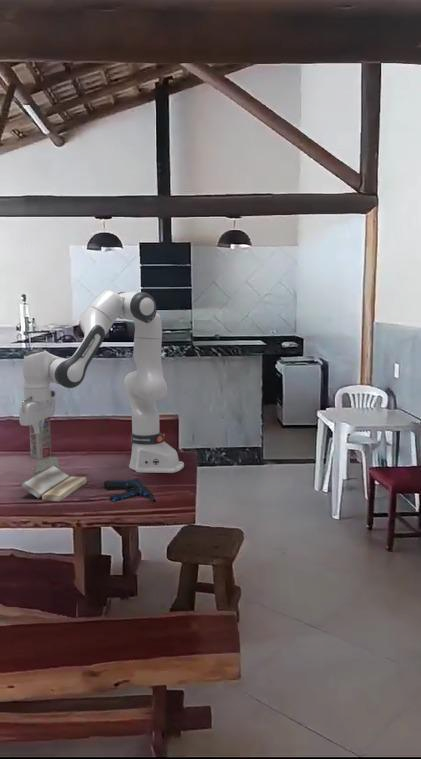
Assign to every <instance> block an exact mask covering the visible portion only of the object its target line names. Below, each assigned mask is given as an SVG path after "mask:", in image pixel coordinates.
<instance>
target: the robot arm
mask: <svg viewBox="0 0 421 759" xmlns="http://www.w3.org/2000/svg"><path fill="white" fill-rule="evenodd" d="M117 319H123V320H129V321H133V324H134V337H133V355H132V356H133V360H134V362H135V366H136V370H134V371H131V372H129V373H128V374H126V376H125V378H124V381H123V386H124V388H125V391H126V393H127V397H128V401H129V402H128V404H129V407H130V411H131V412H130V413H131V429H132V432H131V435H130V442H131V456H130V461H129V464H128V467H129V469H131V470H134V471H135V472H136V473H147V474H148V473H152V474H155V473H162V474H163V473H164V474H165V473H166V474H174V473H177V472H180V471H181V470H182V469H184V468H185V463H184V462H183V461H181V460H180V459H179V455H178V452H177V450H176V449H175V448H173V446H171V445H169V444H168V443H167V442H165V437H166V436H165V435H166V433H161V431H160V412H159V410H158V408H157V405H156V402H159V401H161V400H162V399H164V398H165V397H166V395H167V393H168V384H167V382H166V380H165V377H164V376H165V375H164V371H163V365H162V364H163V363H162V344H163V342H162V339H163V327H162V326H163V324H162V323H163V322H162V317H161V314H160V313H159V312H157V305H156V300H155V299H154V297H153V296H152V295H151V294H149V293H147V292H143V291H134V290H132V291H122V292H121V291H120V292H116V291H114V290H110V289H107V290H104V291H103V292H102V293H100V294H99V295H98V296H97V297H95V299H94V300H93V301H92V302H91V303H90V304H89V306H88V307H87V308H86V309H85V311H84V312H83V314H82V316H81V317H80V320H79V326H80V329H81V331H82V332H83V335H84V337H83V339H82V341H81V343H80V344H79V346H78V347H77V349H76V351H75V352H74V353H73V355H72V356H70V357H68V358H65V357H61V356H57V355H54V354H52V353H50V352H48V351H47V350H46V349H44V348H43V349H42V348H38V349H31V350H28V351H27V352H26V353H25V354H24V355H23V362H22V366H23V367H22V374H23V379H24V384H23V401H22V403H21V404H20V407H19V416H18V417H19V419H18V420H19V424H20V426H25V427H26V426H27V427H30V425H32V426H33V428H34V433H35V434H38V433H41V432H42V431H43V429H42V427H43V424H44V419H46V418H48V417H50V418H51V417H53V416H55V413H56V398H55V397H56V396H57V395H56V393H57V392H56V391H55V390H54V389H51V388H50V384H51V383H54V384H56V385H59V386H60V385H61V386H62V387H64V388H66V389H74V388H76V387H78V386H79V385H81V384H82V383H83V381H84V379H85V377H86V373H87V369H88V367H89V366H90V363H91V361H92V360H93V359H94V357H95V355H96V353H97V352H98V350H99V349H100V347H101V345H102V344H103V341H104V339H105V337H106V334H107V333H108V331H110V329H111V327H112V326H113V324H114V323H115V322H116V321H117Z"/></svg>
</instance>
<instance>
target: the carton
mask: <svg viewBox="0 0 421 759" xmlns="http://www.w3.org/2000/svg"><path fill="white" fill-rule="evenodd" d="M42 429H43V431H42V432H41V433H38V434H35V433H34V428H33V426H32V425H29V440H30V442H29V445H30V457H32V458H34V459H35V460H42V459H47V458H49V457H53V456H52V435H51V434H52V433H51V432H52V431H51V430H52V429H51V417H48V418H46V419H44V424H43V427H42Z"/></svg>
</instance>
